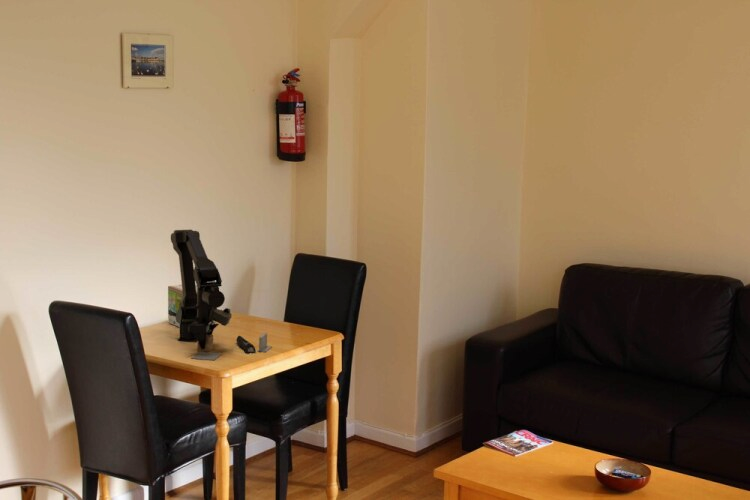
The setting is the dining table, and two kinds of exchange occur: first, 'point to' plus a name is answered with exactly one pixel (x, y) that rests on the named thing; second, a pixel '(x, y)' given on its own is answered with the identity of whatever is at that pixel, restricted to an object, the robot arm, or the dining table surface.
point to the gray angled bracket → (263, 343)
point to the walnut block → (207, 344)
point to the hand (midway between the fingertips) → (205, 347)
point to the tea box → (174, 302)
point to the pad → (206, 356)
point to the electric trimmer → (245, 345)
